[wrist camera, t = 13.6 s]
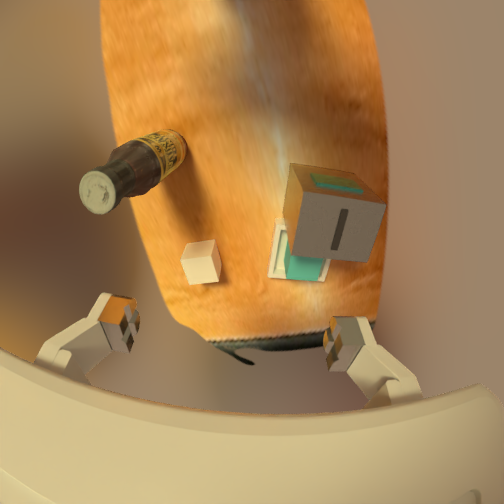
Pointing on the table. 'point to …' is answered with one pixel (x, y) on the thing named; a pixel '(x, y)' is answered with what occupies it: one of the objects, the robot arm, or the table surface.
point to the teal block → (301, 266)
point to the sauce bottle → (132, 170)
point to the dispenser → (330, 214)
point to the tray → (278, 253)
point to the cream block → (201, 262)
